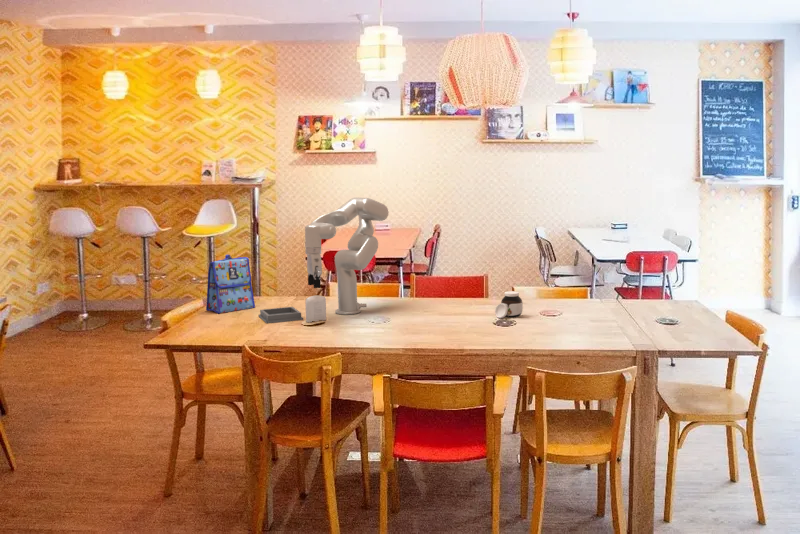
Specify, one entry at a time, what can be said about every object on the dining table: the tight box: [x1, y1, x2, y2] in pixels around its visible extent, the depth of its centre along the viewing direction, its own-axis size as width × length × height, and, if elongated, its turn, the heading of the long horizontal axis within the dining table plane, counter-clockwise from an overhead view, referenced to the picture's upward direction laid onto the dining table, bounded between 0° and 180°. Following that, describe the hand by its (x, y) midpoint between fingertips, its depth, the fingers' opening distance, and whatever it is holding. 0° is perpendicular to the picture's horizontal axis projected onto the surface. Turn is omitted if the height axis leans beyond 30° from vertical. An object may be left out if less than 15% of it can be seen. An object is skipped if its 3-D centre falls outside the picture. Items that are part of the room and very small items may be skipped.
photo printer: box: [304, 294, 327, 323], centre depth 411 cm, size 10×4×12 cm, turn 123°
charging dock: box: [258, 306, 304, 325], centre depth 420 cm, size 18×18×4 cm
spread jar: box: [494, 290, 524, 319], centre depth 411 cm, size 12×11×12 cm
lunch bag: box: [205, 254, 256, 314], centre depth 443 cm, size 22×14×29 cm, turn 131°
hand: (314, 286), depth 409 cm, fingers open, 9 cm apart
